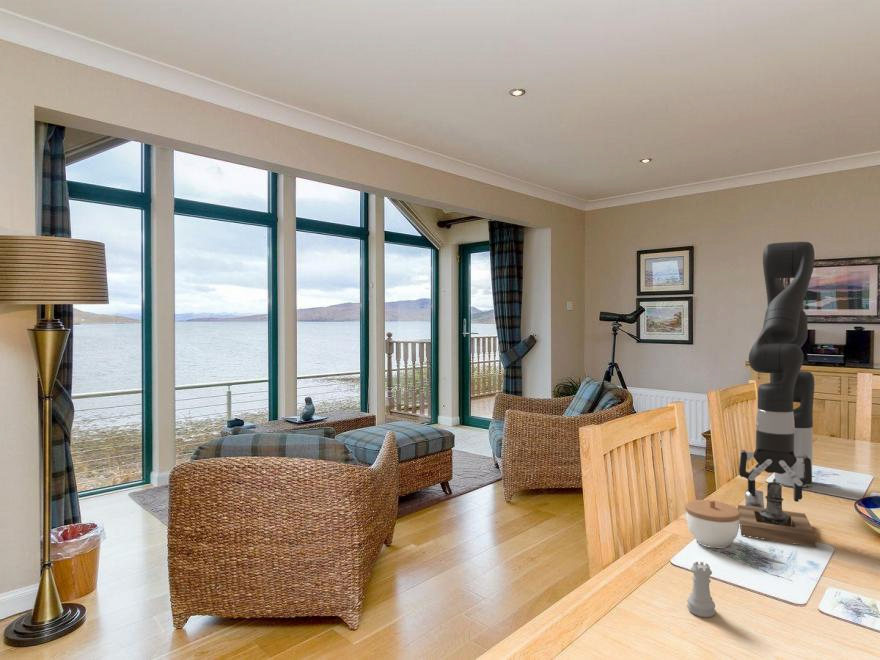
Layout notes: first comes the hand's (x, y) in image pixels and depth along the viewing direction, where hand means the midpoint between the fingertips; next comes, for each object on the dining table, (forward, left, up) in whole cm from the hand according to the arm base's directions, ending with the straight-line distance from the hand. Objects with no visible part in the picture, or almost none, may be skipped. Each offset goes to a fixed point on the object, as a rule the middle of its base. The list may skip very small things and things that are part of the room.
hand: (774, 498), depth 125 cm
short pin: (-11, -3, -7) cm, 13 cm away
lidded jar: (+14, -13, -8) cm, 21 cm away
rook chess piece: (+45, -15, -8) cm, 48 cm away
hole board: (0, 0, -7) cm, 7 cm away
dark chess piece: (0, 0, -8) cm, 8 cm away
